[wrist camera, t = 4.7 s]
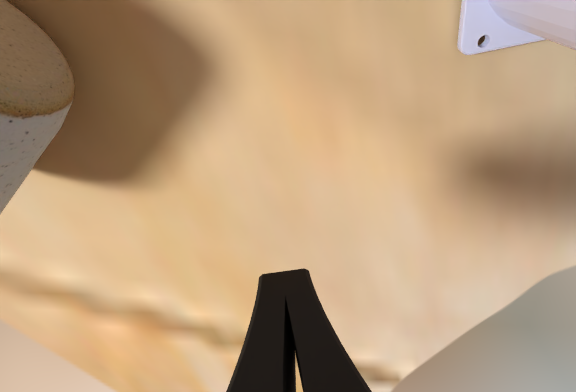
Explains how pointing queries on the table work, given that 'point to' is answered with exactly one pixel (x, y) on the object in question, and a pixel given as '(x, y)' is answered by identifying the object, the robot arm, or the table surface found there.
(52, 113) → the ceramic mug
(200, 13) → the table surface
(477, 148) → the table surface
